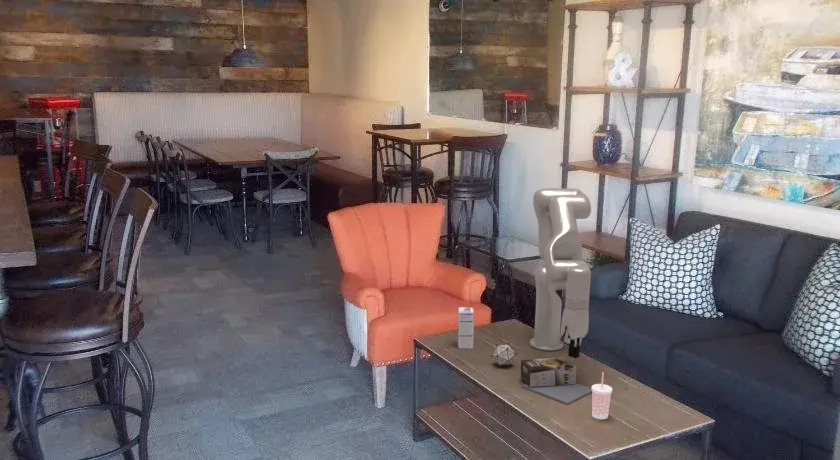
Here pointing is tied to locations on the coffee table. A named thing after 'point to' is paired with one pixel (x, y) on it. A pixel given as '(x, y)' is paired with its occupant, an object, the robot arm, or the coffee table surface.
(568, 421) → the coffee table surface
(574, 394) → the mat
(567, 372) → the coffee box
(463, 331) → the syrup box
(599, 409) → the beverage cup
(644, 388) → the coffee table surface
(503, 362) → the game die
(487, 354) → the coffee table surface
